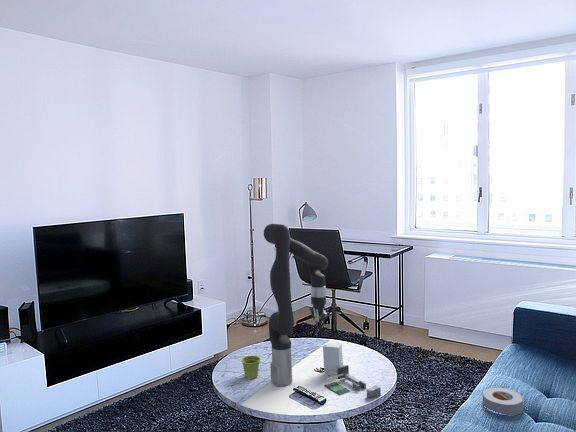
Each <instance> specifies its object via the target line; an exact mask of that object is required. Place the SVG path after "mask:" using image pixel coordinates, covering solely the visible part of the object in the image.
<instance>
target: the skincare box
mask: <svg viewBox="0 0 576 432" xmlns="http://www.w3.org/2000/svg"><path fill="white" fill-rule="evenodd" d="M342 345H343V344H342V343H341V342H340V343H339V342H329V341H327V342H325V344H323V346H322V353H323V355H322V356H323V372H324V376H330V377H333V376H336V375H338V374H337V368H340V367H343V366H344V363H343V362H344V361H343V360H344V358H343V346H342Z"/></svg>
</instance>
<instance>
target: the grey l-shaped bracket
mask: <svg viewBox="0 0 576 432" xmlns="http://www.w3.org/2000/svg"><path fill="white" fill-rule="evenodd" d="M349 367H350V366H349V365H348V364H347V365H343V367H340V368H337V374H338V375H336V376H330V377H327V378H325V381H330V380H333V379H336V378H337V380H342V379H345V380H346V381H349V382H350V383H352V384H353V383H354V382H355V383H356V384H358V385H361V381H362V380H361V379H358V378H356V377H354V376H352V375H351V374H349V370H350V368H349ZM360 380H361V381H360Z"/></svg>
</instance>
